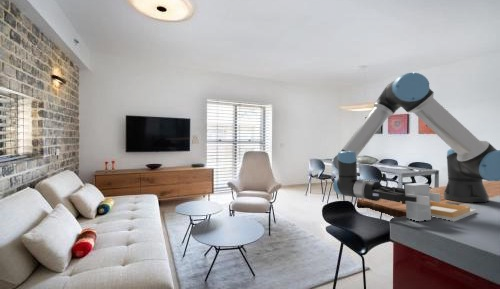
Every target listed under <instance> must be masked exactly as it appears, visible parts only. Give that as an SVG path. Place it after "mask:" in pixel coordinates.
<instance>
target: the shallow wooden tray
mask: <svg viewBox="0 0 500 289" xmlns="http://www.w3.org/2000/svg"><path fill="white" fill-rule="evenodd" d="M430 206H431V216H435V217H438V218H442V219H441V220H443V219H446V220H445V221H448V220H450V221H449V222H454V223H455V222H457V221H459V220H461V219H464V218H466V217H469V216H472V215H475V214H476V213H477V209H476V208H471V207H470V206H466V205H460V202H456V201H454V202H453V201H446V202H435V201H430ZM438 218H437V219H438Z"/></svg>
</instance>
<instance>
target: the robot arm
mask: <svg viewBox="0 0 500 289" xmlns="http://www.w3.org/2000/svg"><path fill="white" fill-rule="evenodd" d="M430 87H431V86H430V82H429V80H428V78H427V77H426V76H425V75H423V74H421V73H419V72H407V73H404V74H401V75H400V76H398V77H397V78H395V79H394V80H393V81H391V82H390V83H388V84H387V85H386V86H385V87H384V88H383V90H382V92H381V93H380V95H379V97H378V98H377V99H376V101H375V102H374V104H373V108H372V110H371V111H370V113H369V114H368V115H367V116H366V117H365V119H364V120H363V121H362V123H361V124H360V125H359V127H358V128H356V131H355V132H354V133H353V134H352V136H351V137H350V138H349V140H348V141H347V142H346V143H345V145H344V146H343V148H342V149H341V150H340V151H338V152H337V154H336V155H335V156H334V157H333V159H332V164H333V166H334V167H335V169H336V170H337V172H338V177H337V178H335V179H334V181H333V183H332V187H333V191H334V192H335V193H336V194H338V195H341V196H344V197H350V198H351V197H352V198H358V199H361V201H364V200H369V201H374V202H378V201H380V200H386V201H391V202H394V203H401V204H402V205H406V202H409V203H416V204H422V205H428V206H429V205H430V204H429V197H428V196H421V195H414V194H406V196H405V187H403V188H402V187H396V186H392V187H391V186H382V184H381V182H379V181H374V180H366V179H358V168H357V165H358V164H357V160H358V155H360V153H361V152H362V150H363V149H364V148H365V147H366V146H367V145H368V143H369V142H370V141H371V139H372V138H373V137H374V136H375V135H376V133H377V132H378V131H379V129H380V128H381V127H382V126H383V124H384V123H385V122H386V120H387V119H388V118H389V117H391V116H393V115H394V114H395V113H396V111H398V110H399V109H400V108H402V109H403V110H405V112H407V113H413V114H414V115H415V116H417V117H418V119H420V120H421V121H422V122H423V123H424V124H425V125H426V126H427V127H428V128H430V129H431V131H432V132H434V133H435V135H436V136H438V137H439V138H440V139H441V140H442V141H443V142H444V143H445V144H446V145H447V146H449V147H450V148H449V149H448V150H447V152H446V161H447V162H446V164H447V184H446V186H445V188H444V192H443V198H444V199H446V200H449V201H452V202H453V201H454V202H458V203H473V202H485V203H488V202H487V201H489V202H490V196H489V194H488V191H487V190H486V188H485V187H486V186H484V184H483V181H488V182H500V150H498V149H496V148H495V147H494V146H493V145H492V144H491V143H490V142H489V141H487V140H480V139H478V137H477V136H475V135H474V134H473V133H472V132H471V131H470V130H469V129H467V127H465V126H464V124H462V123H461V122H460V121H459V120H458V119H457V118H456V117H455V116H453V114H451V113H450V112H449V111H448V110H447V109H446V108H445V107H444V106H443V105H441V104H440V103H439V102H438V101H437V99H435V98H434V94H435V92H434V91H433V90H432V89H431V88H430ZM430 201H433V202H440V203H442V198H441V193H437V192H431V191H430Z"/></svg>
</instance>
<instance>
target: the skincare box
mask: <svg viewBox="0 0 500 289" xmlns="http://www.w3.org/2000/svg"><path fill="white" fill-rule="evenodd" d="M404 189H405V196H406V194H414V195H421V196H428V197H429V204H430V192H431V191H430V184H429V183H423V182H422V183H421V182H414V183H413V182H412V183H405V184H404ZM405 210H406V211H405V213H406V216H405V217H406V219H407V218H409V219H408V220H410V219H412V220H411V221H413V220H415V221H414V222H416V221H419V222H425V221H424V220H426V221H431V220H432V217H431V206H430V205H429V206H428V205H422V204H416V203H409V202H406V204H405Z"/></svg>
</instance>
